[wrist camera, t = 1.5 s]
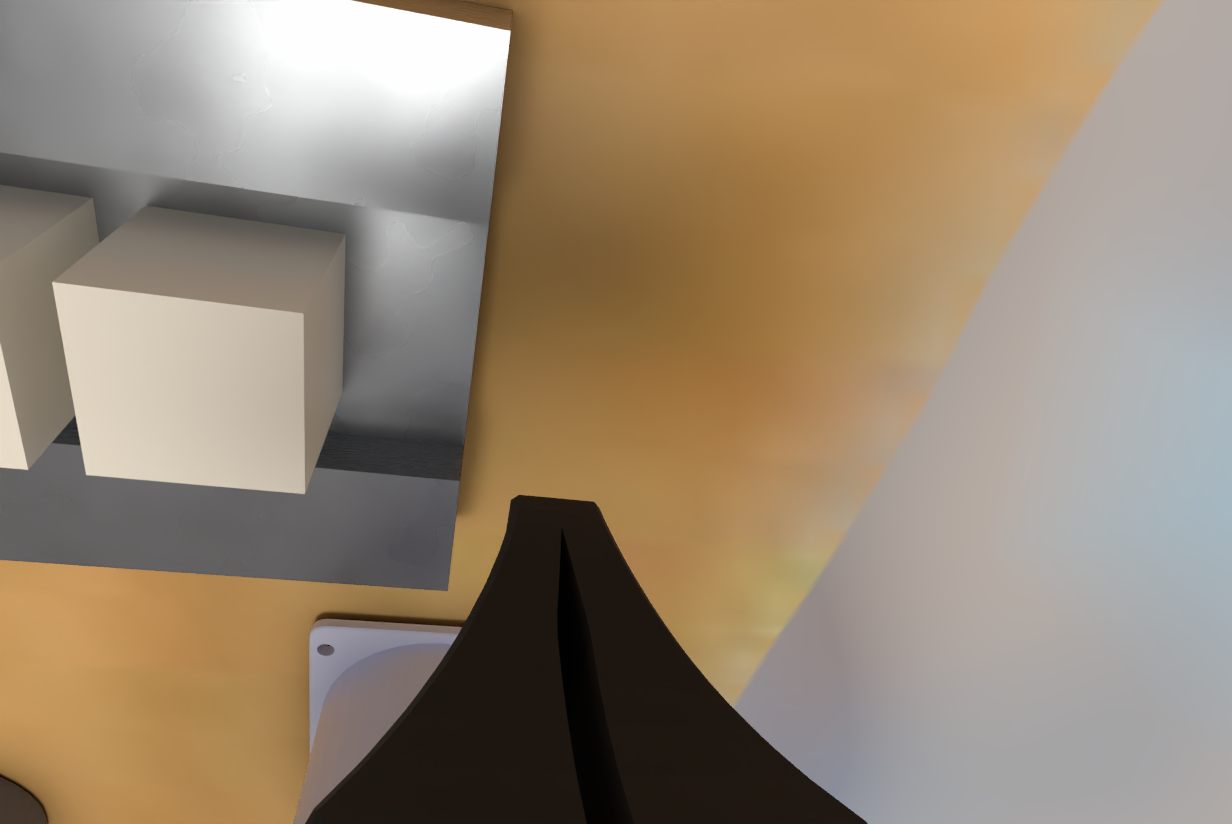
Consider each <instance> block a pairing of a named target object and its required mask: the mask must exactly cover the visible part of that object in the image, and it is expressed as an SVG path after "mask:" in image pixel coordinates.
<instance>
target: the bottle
mask: <svg viewBox="0 0 1232 824" xmlns="http://www.w3.org/2000/svg"><path fill="white" fill-rule="evenodd" d="M0 824H47V820H46V816H45V813H44V811H43V809H42V807H41V806H40V804H39V803H38V802H37V801H36V800H35V799H34V798H33V797H32V796H31V795H30V794H29V793H28V792H26V791H25V790H23V789H22V788H20V787H19V786H17V785H16V784H14V783H12V782H10V781H8V780H6V779H4V778H1V777H0Z"/></svg>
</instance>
